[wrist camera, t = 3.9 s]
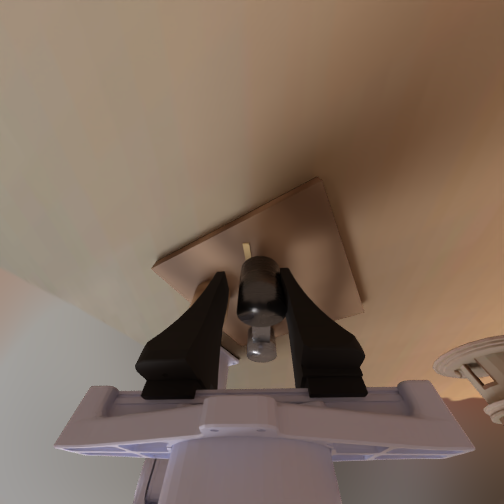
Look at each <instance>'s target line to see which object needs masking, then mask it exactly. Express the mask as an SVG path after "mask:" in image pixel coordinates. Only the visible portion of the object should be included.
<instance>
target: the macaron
mask: <svg viewBox="0 0 504 504" xmlns="http://www.w3.org/2000/svg"><path fill="white" fill-rule="evenodd" d="M209 283H210V281H206V282H202V283H200V284H199V285H198V286H197V288H196V290H195V293H194V296H193V299H192V301H191V304H190V307H191V306H192V305H193V304H194V302H195V301H196V300H197V299H198V298H199V296H200V295H201V294H202V293H203V291H204V290H205V289H206V287H207V286H208V284H209ZM230 295H231V294H230V290H229V298H228V305H227V310H226V315H225V319H224V323H225V322H226V320H227V316H228V309H229V302H230ZM190 307H189V308H190Z"/></svg>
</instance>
